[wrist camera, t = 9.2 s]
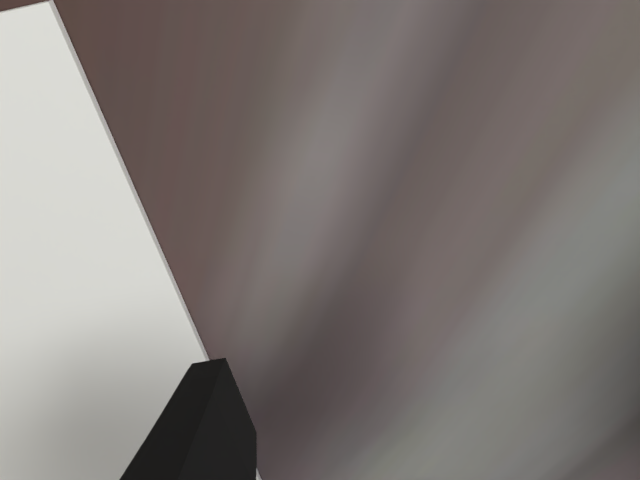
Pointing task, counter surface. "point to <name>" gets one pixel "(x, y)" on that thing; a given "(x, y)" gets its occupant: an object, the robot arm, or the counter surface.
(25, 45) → the t mat
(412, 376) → the counter surface
